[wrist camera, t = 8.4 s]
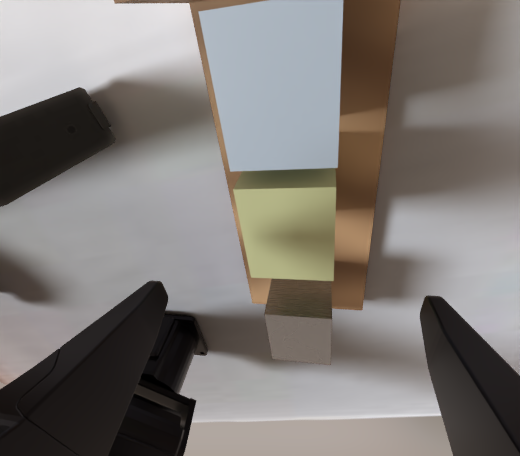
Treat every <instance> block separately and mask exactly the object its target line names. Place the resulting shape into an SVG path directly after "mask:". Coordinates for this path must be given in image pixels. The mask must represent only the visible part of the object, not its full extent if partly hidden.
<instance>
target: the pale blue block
mask: <svg viewBox="0 0 520 456" xmlns="http://www.w3.org/2000/svg"><path fill="white" fill-rule="evenodd" d="M199 17H200V22H201V27H202V32H203V37H204V42H205V47H206V52H207V57H208V62H209V67H210V72H211V77H212V83H213V88H214V93H215V98H216V103H217V108H218V113H219V118H220V123H221V128H222V133H223V138H224V143H225V148H226V153H227V158H228V163H229V168H230V172H233V171H261V170H290V169H319V168H338V146H339V116H340V86H341V56H342V26H343V0H267V1H261V2H255V3H249V4H242V5H236V6H230V7H224V8H218V9H211V10H205V11H199Z"/></svg>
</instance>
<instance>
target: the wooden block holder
mask: <svg viewBox="0 0 520 456" xmlns="http://www.w3.org/2000/svg"><path fill="white" fill-rule="evenodd" d="M261 1H267V0H114V2H115V3H190V8H191V13H192V17H193V22H194V27H195V32H196V36H197V41H198V46H199V51H200V55H201V60H202V65H203V70H204V74H205V79H206V84H207V89H208V93H209V98H210V103H211V108H212V112H213V117H214V122H215V127H216V131H217V136H218V141H219V146H220V150H221V155H222V160H223V165H224V169H225V174H226V179H227V184H228V188H229V193H230V198H231V203H232V208H233V212H234V217H235V222H236V227H237V231H238V236H239V241H240V246H241V250H242V255H243V260H244V265H245V269H246V274H247V279H248V284H249V288H250V293H251V298H252V303H257V304H267V299H268V294H269V289H270V284H271V279H272V278H251V275H250V270H249V265H248V260H247V255H246V251H245V246H244V241H243V236H242V231H241V226H240V221H239V216H238V211H237V206H236V201H235V196H234V191H233V189H234V187H235V185H236V183H237V181H238V179H239V177H240V175H241V173H242V171H233V172H230V168H229V163H228V158H227V153H226V148H225V143H224V138H223V133H222V128H221V123H220V118H219V113H218V108H217V103H216V98H215V93H214V88H213V83H212V77H211V72H210V67H209V62H208V57H207V52H206V47H205V42H204V37H203V32H202V27H201V22H200V17H199V11H205V10H211V9H218V8H224V7H230V6H236V5H242V4H249V3H255V2H261ZM400 1H401V0H343V26H342V56H341V86H340V116H339V146H338V168H335V170H336V215H335V250H334V281H331V285H332V308H334V309H350V310H362V308H363V300H364V292H365V284H366V275H367V267H368V259H369V251H370V243H371V235H372V227H373V219H374V211H375V203H376V195H377V187H378V178H379V170H380V162H381V154H382V146H383V138H384V130H385V122H386V114H387V106H388V98H389V90H390V81H391V73H392V65H393V57H394V49H395V41H396V33H397V25H398V17H399V9H400Z"/></svg>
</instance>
